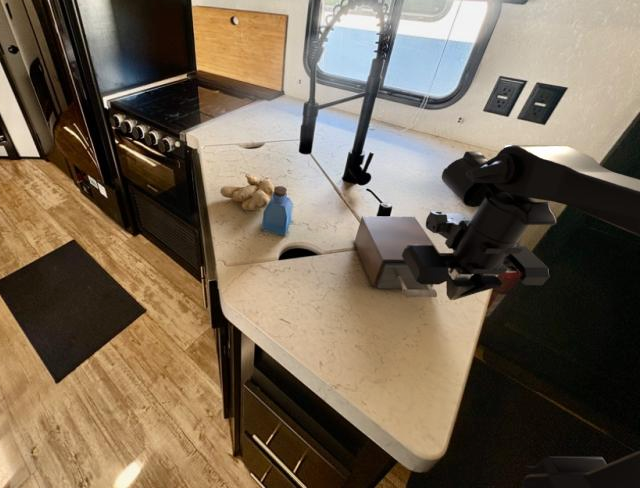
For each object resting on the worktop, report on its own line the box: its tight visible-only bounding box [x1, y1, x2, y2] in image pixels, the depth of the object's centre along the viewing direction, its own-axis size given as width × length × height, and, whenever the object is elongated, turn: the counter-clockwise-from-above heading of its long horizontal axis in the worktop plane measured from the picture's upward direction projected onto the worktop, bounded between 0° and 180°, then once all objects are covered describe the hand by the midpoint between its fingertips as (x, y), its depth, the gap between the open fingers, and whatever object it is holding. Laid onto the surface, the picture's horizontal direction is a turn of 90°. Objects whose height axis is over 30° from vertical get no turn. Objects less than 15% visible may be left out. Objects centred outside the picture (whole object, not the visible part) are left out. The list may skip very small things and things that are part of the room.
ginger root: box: [219, 173, 277, 211], centre depth 91 cm, size 16×16×8 cm
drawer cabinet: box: [353, 215, 441, 287], centre depth 71 cm, size 14×13×9 cm
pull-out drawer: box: [376, 262, 438, 298], centre depth 68 cm, size 17×11×7 cm, turn 0°
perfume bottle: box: [262, 185, 294, 237], centre depth 81 cm, size 6×6×12 cm
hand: (450, 297), depth 52 cm, fingers closed
